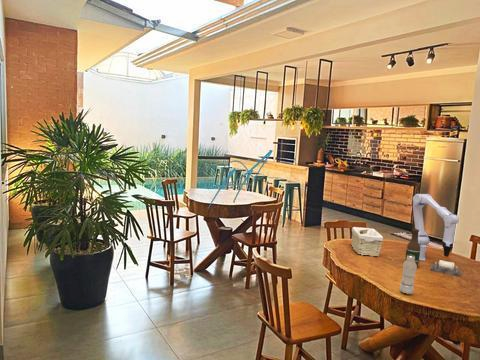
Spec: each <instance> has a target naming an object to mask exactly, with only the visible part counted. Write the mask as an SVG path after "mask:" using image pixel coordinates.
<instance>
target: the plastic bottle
mask: <svg viewBox="0 0 480 360" xmlns="http://www.w3.org/2000/svg"><path fill="white" fill-rule="evenodd" d="M414 260H415V256H414V255H407V260H406V261H405V260H404V262H403V263H402V278H401V280H400V281H401V282H400V284H399V291H400V292H401V293H402V292H403V293H402V294H404V293H406V294H405V295H412V294H413V293H414V291H415V287H414V285H415V284H414V281H415V280H414V279H415V276H416V272H417V265H416V263H415V261H414Z"/></svg>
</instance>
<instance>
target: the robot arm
mask: <svg viewBox="0 0 480 360" xmlns="http://www.w3.org/2000/svg"><path fill="white" fill-rule="evenodd" d="M426 205H429V206H430V207H431V208H432V209H434V210H436V214H437V215H438V216H439V217H440V218H441V219H443V222H444V231H443V238H442V245H441V246H442V248H443V256H444V257H447V258H448V257H450V253H451V251H452V250H453V248H454V246H453V244H456V242H457V241H454V240H455V233H456V229H457V228H456V227H457V224H458V223H459V222H460V218H459V216H458V215H457V214H453V213H452V212H450V210H448V209H447V207H446V206H445V207H444V206H441V205H440V204H438V202H437V201H436V200H435V199H433V197H432V195H430V194H429V193H416V194H415V195H413V197H412V212H413V213H412V214H413V221H414V229H418V230H419V232H418V243H419V245H420V256H419V261H424V262H425V261H426V250H427V246H428V245H429V244H430V237H429V235H428V233H427V232H426V231H425V223H424V222H425V221H424V215H423V208H424V207H425V206H426Z"/></svg>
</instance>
